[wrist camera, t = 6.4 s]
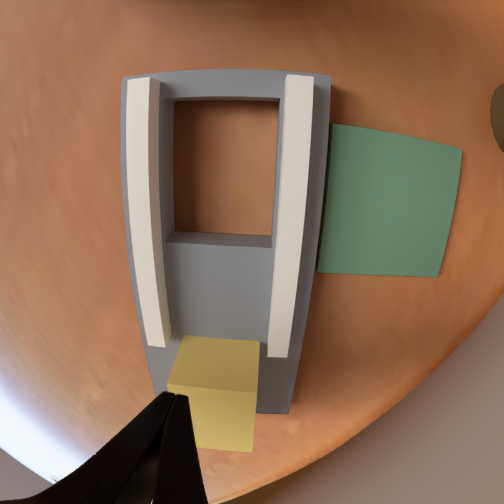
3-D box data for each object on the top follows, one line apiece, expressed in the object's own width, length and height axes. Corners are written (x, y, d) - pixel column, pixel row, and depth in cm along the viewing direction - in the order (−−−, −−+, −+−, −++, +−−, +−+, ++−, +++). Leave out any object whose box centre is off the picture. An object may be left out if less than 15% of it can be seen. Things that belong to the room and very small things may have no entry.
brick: (184, 335, 19) (166, 383, 15) (259, 341, 19) (257, 392, 15) (192, 400, 22) (181, 444, 18) (254, 406, 22) (252, 452, 18)
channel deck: (136, 81, 15) (109, 74, 12) (324, 81, 15) (337, 69, 11) (163, 385, 24) (153, 414, 21) (287, 396, 24) (289, 428, 21)
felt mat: (330, 123, 16) (332, 123, 15) (457, 148, 15) (462, 149, 15) (315, 268, 19) (317, 272, 19) (433, 273, 19) (437, 277, 18)
